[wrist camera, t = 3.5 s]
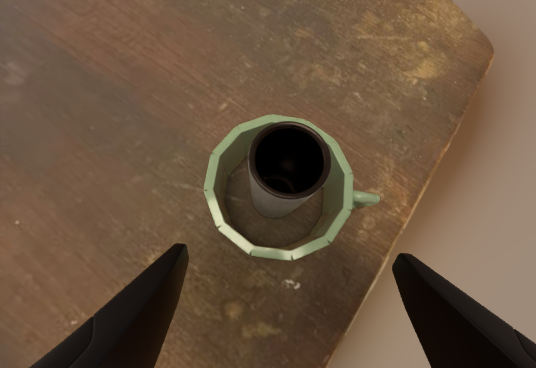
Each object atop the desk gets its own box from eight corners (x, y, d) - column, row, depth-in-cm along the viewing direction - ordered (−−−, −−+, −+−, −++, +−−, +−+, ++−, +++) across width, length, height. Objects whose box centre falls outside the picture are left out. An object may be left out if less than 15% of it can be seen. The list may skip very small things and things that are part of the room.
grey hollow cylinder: (265, 166, 22) (272, 106, 12) (304, 187, 22) (345, 143, 12) (242, 205, 21) (231, 173, 11) (284, 227, 21) (310, 216, 11)
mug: (207, 246, 20) (190, 248, 15) (228, 137, 23) (220, 106, 18) (353, 265, 20) (388, 274, 15) (357, 156, 23) (387, 131, 18)
